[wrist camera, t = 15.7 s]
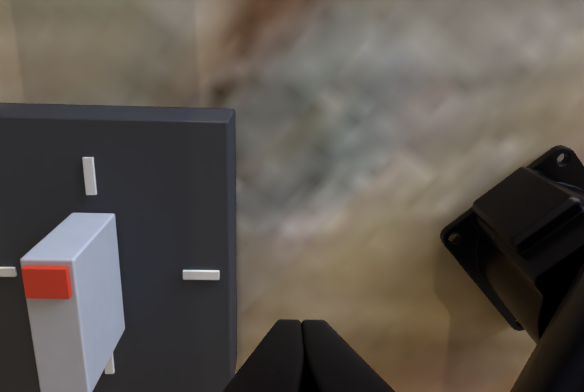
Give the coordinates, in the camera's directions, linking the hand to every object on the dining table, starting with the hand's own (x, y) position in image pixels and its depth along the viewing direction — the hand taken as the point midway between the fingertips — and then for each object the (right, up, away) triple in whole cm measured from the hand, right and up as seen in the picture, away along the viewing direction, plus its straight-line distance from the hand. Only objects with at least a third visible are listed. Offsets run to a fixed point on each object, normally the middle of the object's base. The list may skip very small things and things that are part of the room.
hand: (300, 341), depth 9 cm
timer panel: (-8, +1, +13) cm, 15 cm away
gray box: (-8, 0, +10) cm, 13 cm away
